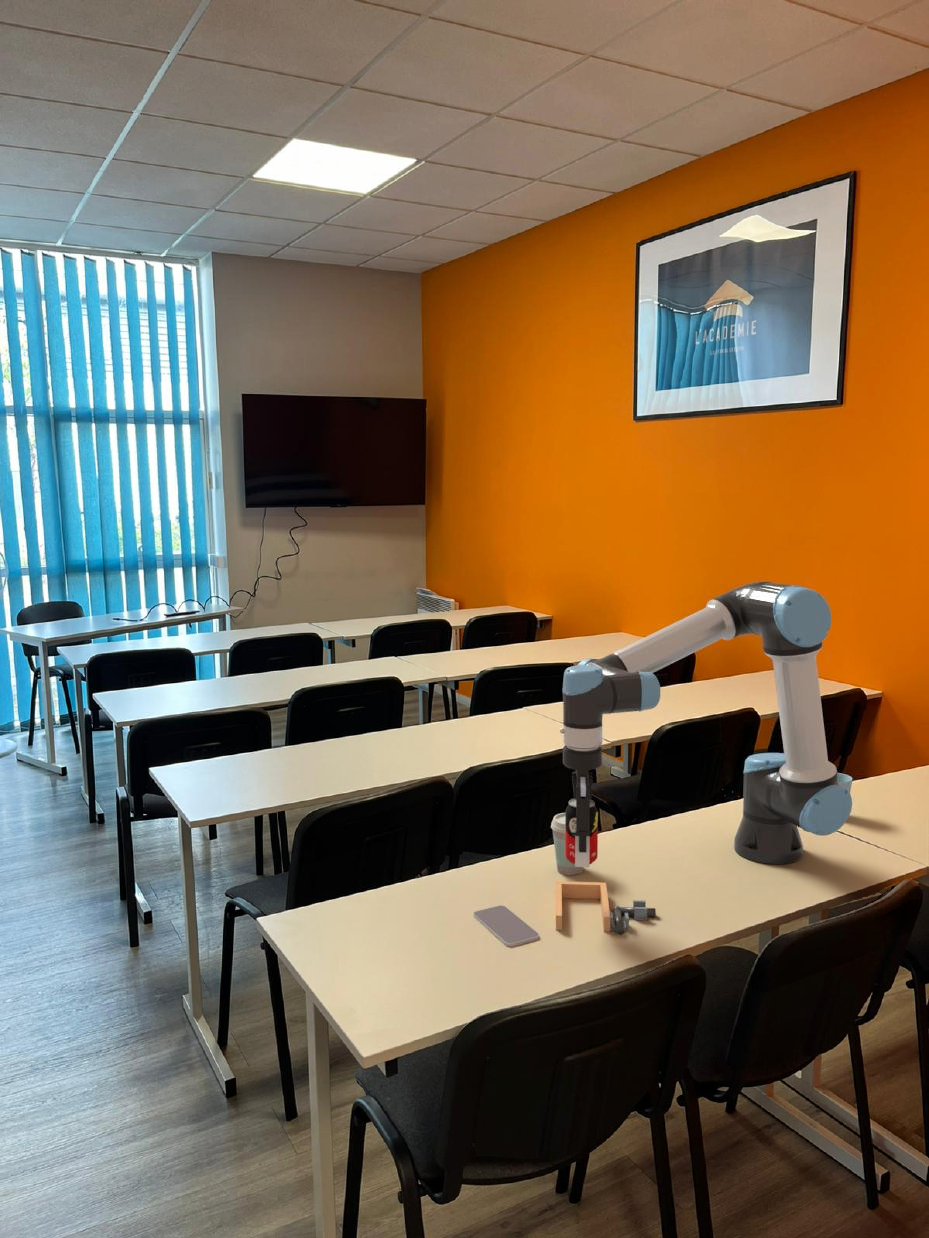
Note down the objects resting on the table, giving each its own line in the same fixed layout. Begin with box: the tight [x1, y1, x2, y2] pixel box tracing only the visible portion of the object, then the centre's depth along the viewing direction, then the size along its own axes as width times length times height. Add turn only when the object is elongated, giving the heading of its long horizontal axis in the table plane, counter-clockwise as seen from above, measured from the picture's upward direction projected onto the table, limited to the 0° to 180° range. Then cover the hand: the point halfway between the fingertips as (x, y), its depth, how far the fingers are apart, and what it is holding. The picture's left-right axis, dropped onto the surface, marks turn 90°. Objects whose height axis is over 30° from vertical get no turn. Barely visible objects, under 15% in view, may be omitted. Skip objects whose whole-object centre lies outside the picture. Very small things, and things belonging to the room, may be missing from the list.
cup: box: [837, 772, 853, 794], centre depth 229 cm, size 8×8×10 cm
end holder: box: [555, 880, 611, 933], centre depth 180 cm, size 10×15×3 cm
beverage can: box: [564, 798, 599, 866], centre depth 176 cm, size 6×6×12 cm
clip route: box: [610, 899, 657, 936], centre depth 176 cm, size 9×10×2 cm
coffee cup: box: [550, 812, 585, 876], centre depth 200 cm, size 9×8×12 cm
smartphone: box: [472, 904, 540, 948], centre depth 175 cm, size 7×1×15 cm
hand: (581, 858), depth 177 cm, fingers closed on beverage can, 6 cm apart
